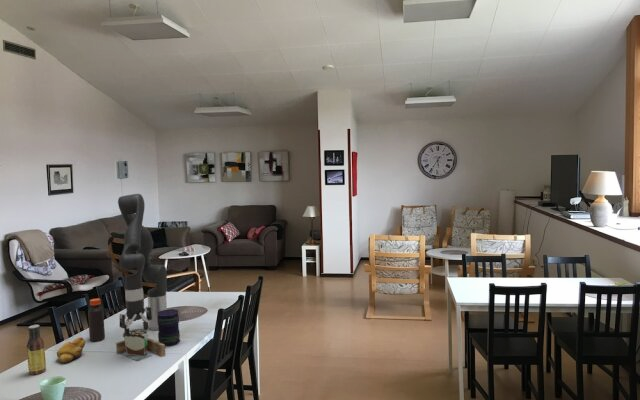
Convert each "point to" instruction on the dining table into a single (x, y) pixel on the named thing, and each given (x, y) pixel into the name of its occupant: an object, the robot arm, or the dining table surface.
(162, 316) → the rusty blue oil drum
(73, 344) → the bread roll
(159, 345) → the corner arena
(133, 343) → the food container
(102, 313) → the vinegar
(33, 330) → the sauce bottle
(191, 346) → the dining table surface
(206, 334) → the dining table surface
